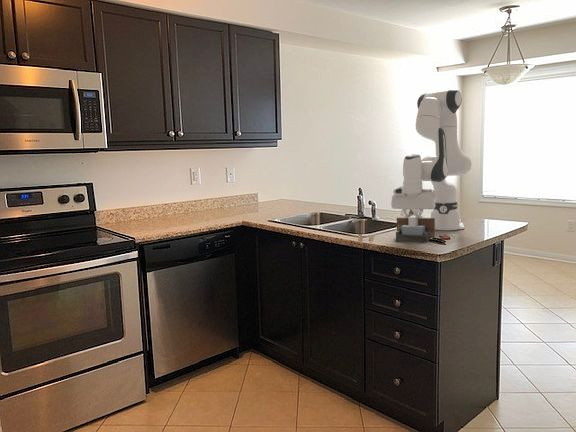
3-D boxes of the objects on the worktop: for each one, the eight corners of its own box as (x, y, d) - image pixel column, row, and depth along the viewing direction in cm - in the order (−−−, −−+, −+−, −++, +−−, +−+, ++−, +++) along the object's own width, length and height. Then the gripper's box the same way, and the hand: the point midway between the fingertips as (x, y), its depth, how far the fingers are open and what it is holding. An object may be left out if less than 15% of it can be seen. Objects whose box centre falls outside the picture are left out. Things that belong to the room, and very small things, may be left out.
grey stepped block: (404, 238, 229) (404, 215, 228) (425, 239, 225) (425, 215, 223) (401, 240, 224) (401, 217, 222) (422, 241, 219) (422, 217, 218)
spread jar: (424, 216, 293) (423, 197, 292) (416, 218, 285) (416, 199, 283) (406, 215, 301) (405, 197, 299) (398, 217, 292) (398, 199, 290)
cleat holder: (398, 236, 233) (397, 217, 232) (435, 238, 225) (434, 218, 223) (392, 241, 225) (391, 220, 223) (430, 242, 216) (430, 221, 214)
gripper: (436, 188, 219) (436, 217, 221) (393, 188, 228) (394, 216, 230) (433, 190, 213) (434, 219, 215) (389, 190, 223) (390, 218, 225)
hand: (413, 218), depth 223 cm, fingers open, 4 cm apart
